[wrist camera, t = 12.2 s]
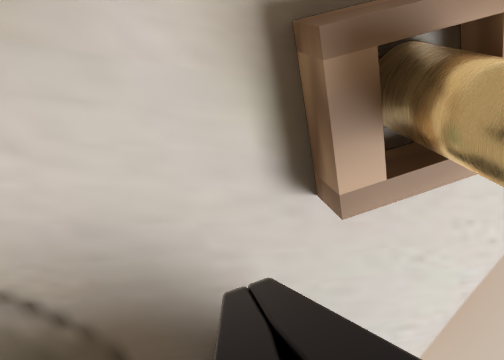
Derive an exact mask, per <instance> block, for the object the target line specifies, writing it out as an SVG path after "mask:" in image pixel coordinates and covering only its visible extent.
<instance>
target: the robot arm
mask: <svg viewBox="0 0 504 360" xmlns="http://www.w3.org/2000/svg"><path fill="white" fill-rule="evenodd" d="M214 360H421V359H419V358H418V357H416V356H414V355H412V354H410V353H408V352H407V351H405V350H403V349H401V348H399V347H397V346H395V345H394V344H392V343H390V342H388V341H386V340H384V339H383V338H381V337H379V336H377V335H375V334H373V333H371V332H370V331H368V330H366V329H364V328H362V327H360V326H359V325H357V324H355V323H353V322H351V321H349V320H348V319H346V318H344V317H342V316H340V315H338V314H336V313H335V312H333V311H331V310H329V309H327V308H325V307H324V306H322V305H320V304H318V303H316V302H314V301H312V300H311V299H309V298H307V297H305V296H303V295H301V294H300V293H298V292H296V291H294V290H292V289H290V288H288V287H287V286H285V285H283V284H281V283H279V282H277V281H276V280H274V279H272V278H265V279H263V280H260V281H257V282H254V283H251V284H249V286H248V288H247V287H240V288H237V289H234V290H231V291H229V292H226V293H225V294H224V296H223V300H222V306H221V313H220V320H219V326H218V333H217V340H216V347H215V353H214Z"/></svg>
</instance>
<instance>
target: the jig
mask: <svg viewBox="0 0 504 360" xmlns="http://www.w3.org/2000/svg"><path fill="white" fill-rule="evenodd" d="M458 24H461V50H466V51H471V52H476V53H481V54H487V55H492V56H497V57H502V58H504V0H375V1H371V2H367V3H363V4H359V5H355V6H350V7H346V8H342V9H338V10H334V11H330V12H326V13H322V14H318V15H314V16H310V17H306V18H302V19H298V20H294V21H293V27H294V34H295V41H296V47H297V54H298V61H299V68H300V75H301V82H302V89H303V96H304V103H305V110H306V117H307V124H308V131H309V138H310V145H311V152H312V159H313V166H314V173H315V180H316V187H317V194H318V197H319V198H320V199H321V200H322V201H323V202H324V203H326V204H327V205H328V206H329V207H330V208H331V209H332V210H333V211H334V212H335V213H336V214H337V215H338V216H339V217H340V218H341V219H342V220H344V219H347V218H350V217H352V216H355V215H358V214H361V213H364V212H367V211H370V210H373V209H376V208H379V207H382V206H385V205H388V204H391V203H394V202H397V201H400V200H403V199H406V198H408V197H411V196H414V195H417V194H420V193H423V192H426V191H429V190H432V189H435V188H438V187H441V186H444V185H447V184H450V183H453V182H456V181H459V180H461V179H464V178H467V177H470V176H473V175H476V174H477V173H475V172H473V171H471V170H469V169H467V168H465V167H463V166H461V165H459V164H457V163H456V162H454V161H452V160H450V159H448V158H446V157H444V156H442V155H440V154H438V153H436V152H434V151H432V150H430V149H428V148H426V147H424V146H422V145H420V144H418V143H416V142H412V143H409V144H406V145H403V146H400V147H397V148H393V149H390V150H387V151H385V147H384V133H383V118H382V104H381V90H380V75H379V61H378V46H379V45H383V44H386V43H390V42H394V41H398V40H401V39H405V38H409V37H413V36H416V35H420V34H424V33H428V32H431V31H435V30H439V29H443V28H446V27H450V26H454V25H458Z"/></svg>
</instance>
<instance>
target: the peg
mask: <svg viewBox="0 0 504 360" xmlns="http://www.w3.org/2000/svg"><path fill="white" fill-rule="evenodd" d="M379 75H380V90H381V104H382V118H383V126H385V127H387V128H389V129H391V130H393V131H395V132H396V133H398V134H400V135H402V136H404V137H406V138H408V139H410V140H412V141H414V142H416V143H418V144H420V145H422V146H424V147H426V148H428V149H430V150H432V151H434V152H436V153H438V154H440V155H442V156H444V157H446V158H448V159H450V160H452V161H454V162H456V163H457V164H459V165H461V166H463V167H465V168H467V169H469V170H471V171H473V172H475V173H477V174H479V175H481V176H483V177H485V178H487V179H489V180H491V181H493V182H495V183H497V184H499V185H501V186H503V187H504V58H502V57H497V56H492V55H487V54H481V53H476V52H471V51H466V50H461V49H455V48H450V47H445V46H440V45H435V44H429V43H424V42H419V41H409V42H404V43H401V44H399V45H397V46H395V47H393V48H392V49H390V50H389V51H388V52H386V53H385V54H384V55H383V56H382V57H381V59H380V60H379Z"/></svg>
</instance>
